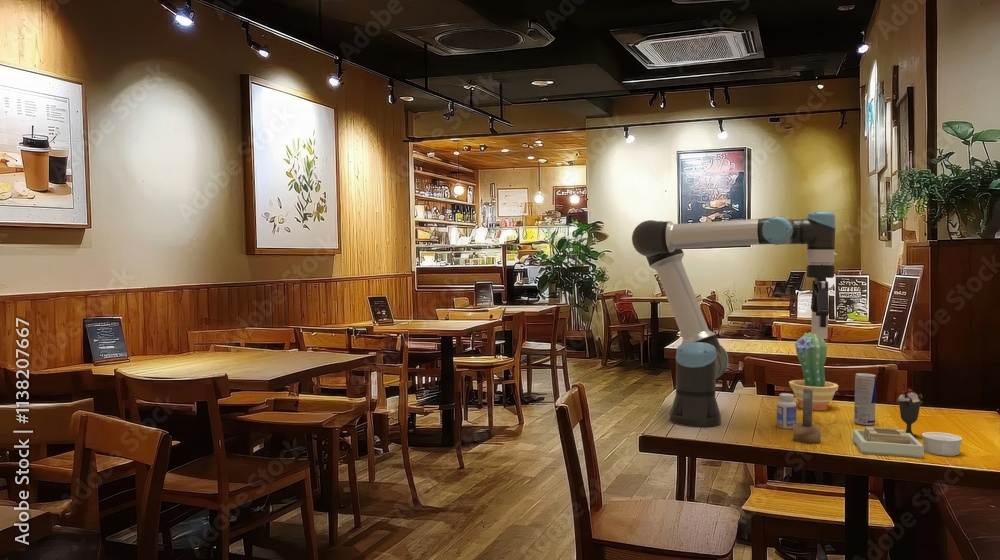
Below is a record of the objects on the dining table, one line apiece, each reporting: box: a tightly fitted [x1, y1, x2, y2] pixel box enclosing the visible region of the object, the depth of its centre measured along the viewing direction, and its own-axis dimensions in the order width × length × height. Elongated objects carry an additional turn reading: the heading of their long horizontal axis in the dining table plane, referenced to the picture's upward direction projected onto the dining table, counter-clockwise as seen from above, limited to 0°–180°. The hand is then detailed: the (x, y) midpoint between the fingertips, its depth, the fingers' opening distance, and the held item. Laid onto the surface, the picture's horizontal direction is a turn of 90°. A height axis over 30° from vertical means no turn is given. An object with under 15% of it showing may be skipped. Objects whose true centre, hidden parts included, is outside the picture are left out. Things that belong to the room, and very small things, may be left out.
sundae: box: [895, 383, 923, 439], centre depth 205 cm, size 7×7×15 cm
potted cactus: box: [788, 331, 840, 411], centre depth 243 cm, size 15×15×25 cm
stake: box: [793, 389, 822, 445], centre depth 199 cm, size 7×7×14 cm
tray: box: [852, 429, 925, 459], centre depth 191 cm, size 14×14×3 cm
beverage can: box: [853, 372, 877, 426], centre depth 220 cm, size 6×6×15 cm
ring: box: [864, 425, 910, 444], centre depth 191 cm, size 9×9×4 cm
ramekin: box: [921, 431, 963, 457], centre depth 188 cm, size 9×9×4 cm
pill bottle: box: [776, 392, 798, 430], centre depth 215 cm, size 5×5×10 cm
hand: (819, 336), depth 216 cm, fingers open, 13 cm apart
